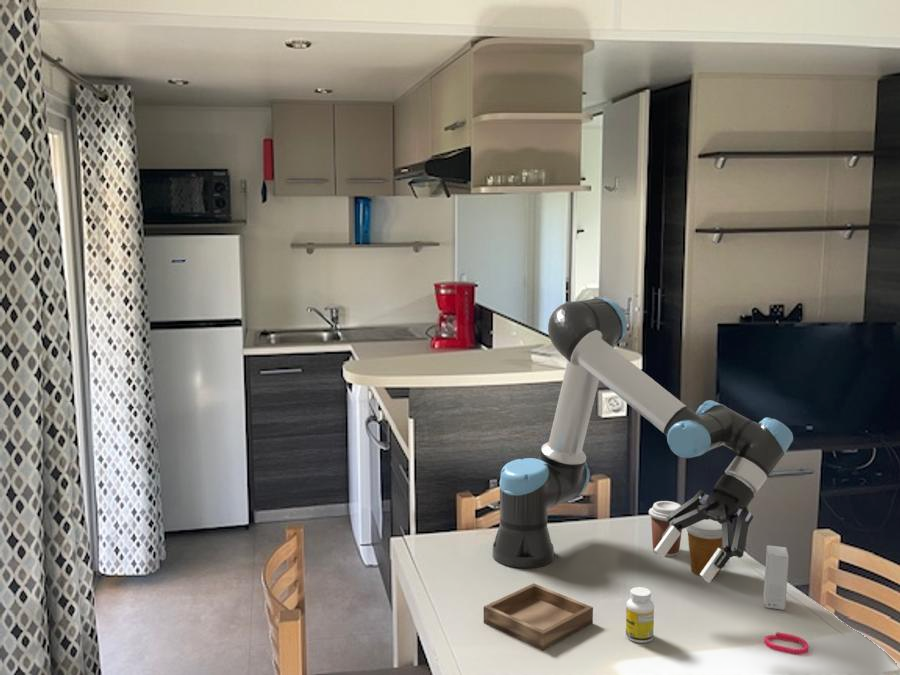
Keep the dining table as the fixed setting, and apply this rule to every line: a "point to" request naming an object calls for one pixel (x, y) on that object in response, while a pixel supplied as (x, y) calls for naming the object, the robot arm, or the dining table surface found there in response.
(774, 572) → the skincare box
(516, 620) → the walnut tray
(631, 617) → the supplement bottle
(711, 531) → the disposable coffee cup
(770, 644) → the fitness band
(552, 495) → the robot arm
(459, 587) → the dining table surface
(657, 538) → the coffee cup
